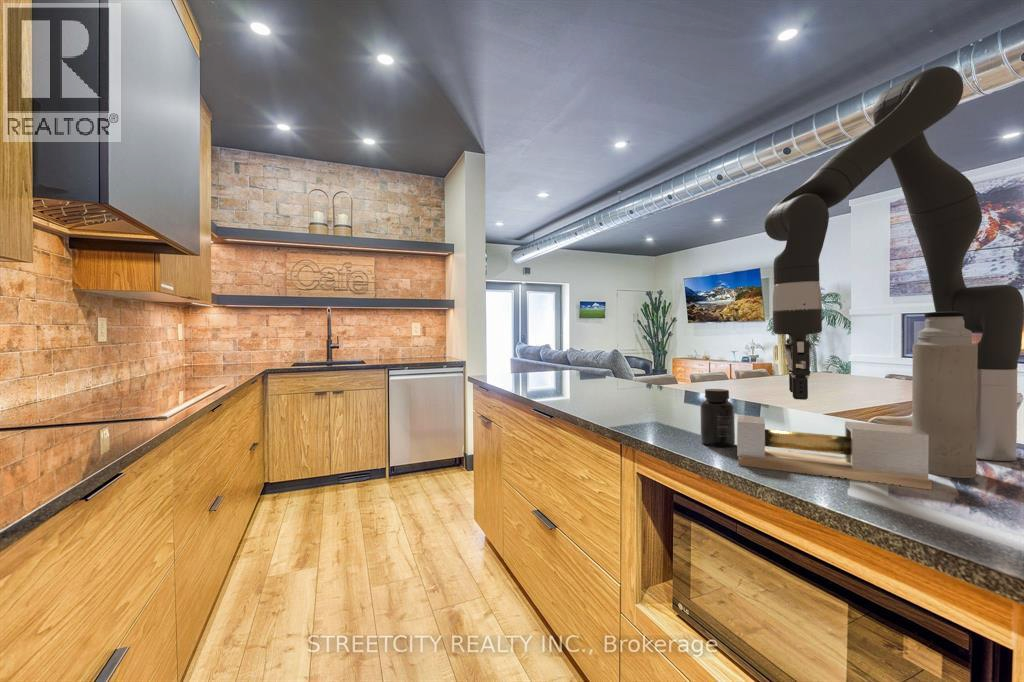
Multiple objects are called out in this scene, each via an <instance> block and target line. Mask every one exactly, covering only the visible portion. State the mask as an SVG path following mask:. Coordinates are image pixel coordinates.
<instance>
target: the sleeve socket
mask: <svg viewBox="0 0 1024 682" xmlns="http://www.w3.org/2000/svg"><path fill="white" fill-rule="evenodd" d="M736 420H737V421H736V423H737V424H736V426H737V427H736V430H737V432H736V433H737V435H736V437H737V439H736V440H737V441H736V443H737V445H736V446H737V447H736V448H737V449H736V450H737V451H736V452H737V456H736V457H738V458H739V457H748V458H756V459H764V460H765V449H766V446H765V429H766V421H765V417H764V416H752V415H739V414H738V416H737V419H736ZM844 436H847V437H851V455H844V457H845V461H848V462H851V469H852V470H859V471H867V472H876V473H884V474H892V475H901V476H909V477H918V478H926V479H929V473H928V440H929V435H928V434H926V433H925V432H923V431H921V430H919V429H918V428H916V427H912V425H910V426H909V425H896V424H886V423H885V424H883V423H872V422H871V423H870V422H869V423H868V422H856V421H844Z"/></svg>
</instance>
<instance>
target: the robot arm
mask: <svg viewBox="0 0 1024 682" xmlns="http://www.w3.org/2000/svg"><path fill="white" fill-rule="evenodd" d="M963 93H964V82H963V78H962V76H961V73H959V72H958V71H957V70H956V69H954V68H953V67H950V66H945V65H941V66H935V67H931V68H927V69H925V70H922V71H921V72H918V73H917V74H914V75H913V76H911V77H909V78H907V79H903V81H900V82H899V83H897V84H895V85H893V86H891V87H890V88H888V89H885V90H883V92H882V93H880V94H879V95H878V96H877V98H876V100H874V103H873V104H874V105H873V109H872V117H873V124H874V126H872V127H871V128H870V129H869V130H867V131H866V132H864V133H862V134H861V135H860V136H858V137H856V138H855V139H854V140H852V141H850V142H849V143H848V144H846V145H845V146H844V147H843V148H841V149H839V150H838V151H837V152H836V153H835V154H834V155H832V156H831V157H830V158H829V159H828V160H827V161H825V162H824V164H822V165H821V166H820V167H819V168H818V169H817V170H816V171H815V172H814V173H813V174H812V175H811V176H810V178H808V179H807V180H806V181H805V182H804V183H803V184H801V185H800V186H798V187H797V188H796V189H794V190H793V191H791V193H789V194H788V195H786V196H785V197H784V198H782V199H781V200H780V201H778V203H776V204H775V205H774V206H773V207H772V208H771V209H770V210H769V212H768V213H767V215H766V217H765V219H764V230H765V233H766V235H767V236H768V237H769V238H770V239H772V240H774V241H778V242H786V244H785V247H784V249H783V250H782V251H781V252H780V253H778V254H777V255H776V256H775V257H774V258H773V259H774V260H773V292H772V332H773V334H775V335H787V336H788V338H787V339H786V341H785V343H784V344H783V350H784V354H785V364H786V367H787V373H788V382H789V383H788V386H789V387H788V388H789V389H788V390H789V392H790V393H792V398H793V400H803V401H804V400H808V398H809V387H808V385H809V382H808V381H809V378H810V374H811V373H812V372H811V370H810V369H811V365H812V357H811V354H812V344H811V343H810V341H809V340H807V336H808V335H813V334H821V333H822V331H823V323H822V322H823V311H822V309H823V307H822V306H823V305H822V303H823V300H822V298H823V297H822V290H821V285H820V283H821V282H820V281H821V280H820V257H821V254H822V250H823V247H824V243H825V239H826V235H827V231H828V227H829V222H830V213H829V209H830V208H832V207H834V206H836V205H839V203H841V202H843V201H844V200H845V199H846V198H847V197H848V196H849V195H850V194H851V193H852V192H853V191H854V190H855V189H856V188H858V187H859V186H860V185H861V184H862V183H863V182H864V180H866V179H867V178H868V177H869V176H871V174H872V173H874V172H875V171H876V170H877V169H878V168H879V167H881V165H883V164H884V163H885V162H886V161H888V160H890V161H891V163H892V166H893V168H894V171H895V173H896V176H897V178H898V181H899V184H900V187H901V189H902V193H903V196H904V198H905V203H906V207H907V210H908V213H909V217H910V219H911V224H912V226H913V229H914V232H915V235H916V237H917V240H918V242H919V246H920V248H921V252H922V255H923V259H924V262H925V265H926V269H927V271H926V272H927V274H928V279H929V284H930V291H931V295H932V301H933V308H934V312H964V316H962V317H963V320H964V327H965V328H966V329H968V330H970V331H972V334H981V337H980V340H979V342H978V343H976V344H977V345H978V362H977V405H976V421H977V446H976V459H978V460H988V461H997V462H1012V461H1016V460H1017V443H1018V442H1017V441H1018V440H1017V438H1018V434H1017V433H1018V432H1017V431H1018V362H1019V358H1020V355H1021V352H1022V340H1023V339H1022V337H1023V329H1024V328H1023V326H1024V298H1023V295H1022V293H1021V292H1020V290H1019V289H1018V288H1017V287H1015V286H1013V285H1010V284H993V285H982V286H971V287H970V286H969V287H968V286H967V285H966V284H965V281H964V276H963V262H964V259H965V257H966V254H967V252H968V251H969V249H970V247H971V245H972V243H973V241H974V239H975V238H976V236H977V233H978V232H979V229H980V228H981V225H982V220H983V213H982V209H981V206H980V203H979V202H980V201H979V199H978V195H977V193H976V192H977V191H976V189H975V187H974V185H973V183H972V181H971V180H970V179H969V178H967V176H966V175H965V174H963V173H962V172H960V171H959V170H958V169H956V168H955V167H954V166H952V165H951V164H949V163H948V162H946V161H945V160H943V159H942V158H941V157H939V155H938V154H936V153H935V152H934V150H933V149H932V148H931V146H930V144H929V142H928V140H927V138H926V136H925V132H924V131H926V130H928V129H929V128H930V127H932V126H934V125H936V124H937V122H940V121H942V119H944V118H945V117H946V116H949V115H950V114H951V112H953V111H954V110H955V109H956V107H957V106H958V105H959V103H960V102H961V100H962V97H963Z"/></svg>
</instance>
